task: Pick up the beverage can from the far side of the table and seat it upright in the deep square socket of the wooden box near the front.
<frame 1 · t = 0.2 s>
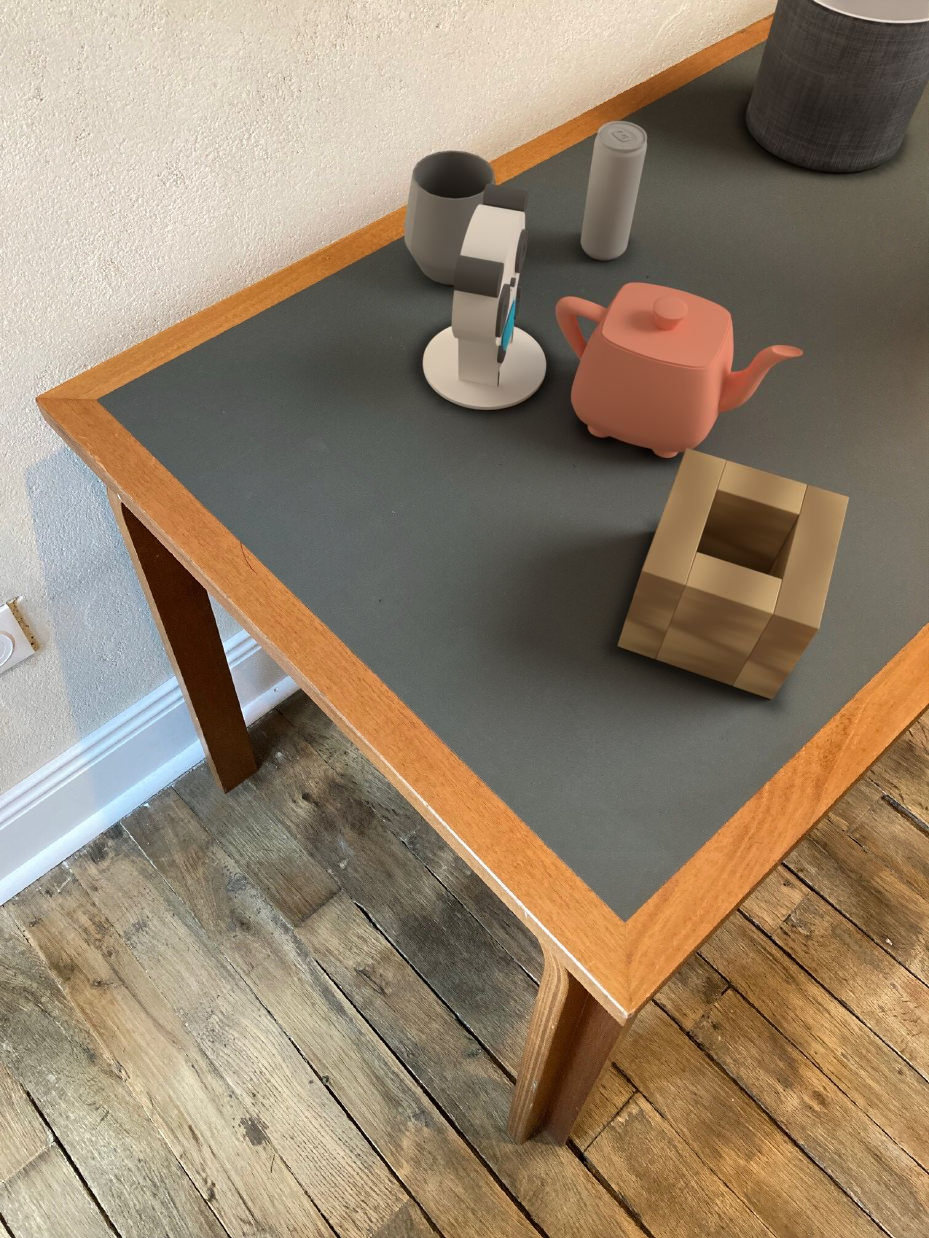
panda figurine: (483, 369, 87), on the table
wooden box: (712, 610, 73), on the table
cup: (452, 269, 94), on the table
teapot: (650, 418, 84), on the table
beverage can: (602, 249, 96), on the table
planter: (821, 130, 109), on the table
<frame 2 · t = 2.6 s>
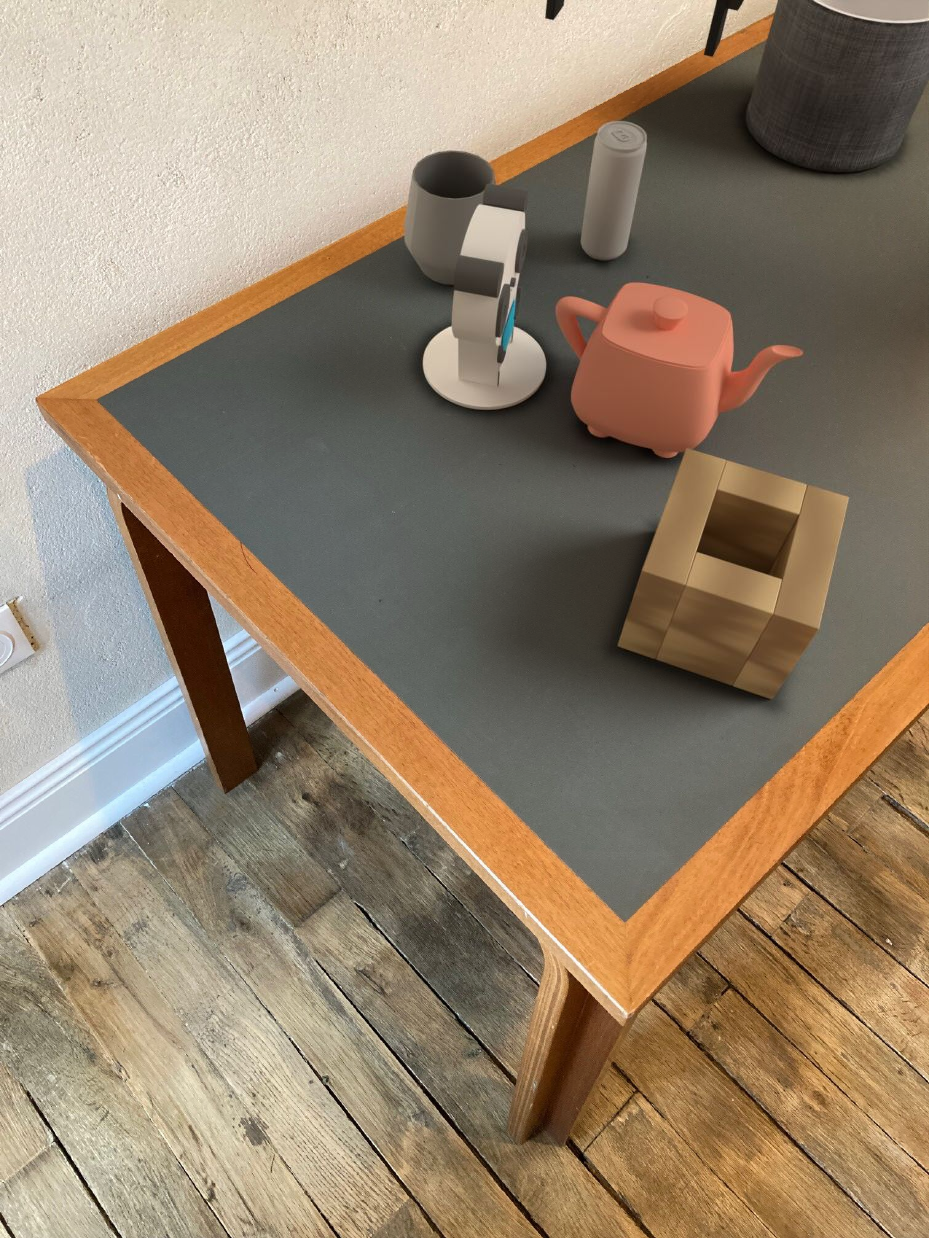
hand: (631, 30, 78), 21 cm above the table, tool pointing down, fingers open, 13 cm apart
nothing on the table moved.
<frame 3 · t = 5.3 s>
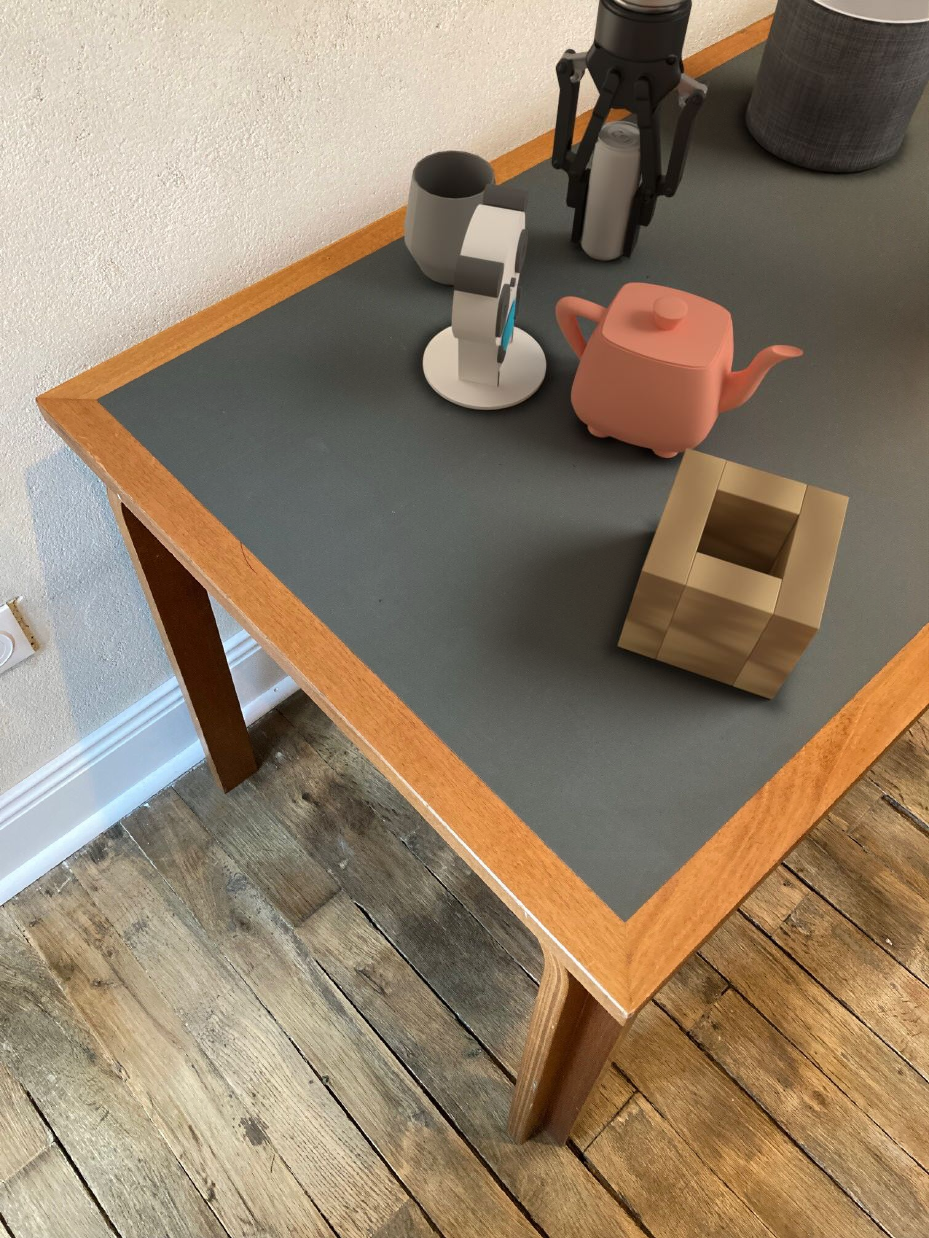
hand: (603, 242, 96), 1 cm above the table, tool pointing down, fingers closed on beverage can, 5 cm apart
beverage can: (602, 249, 96), on the table, touching gripper
everything else where it was.
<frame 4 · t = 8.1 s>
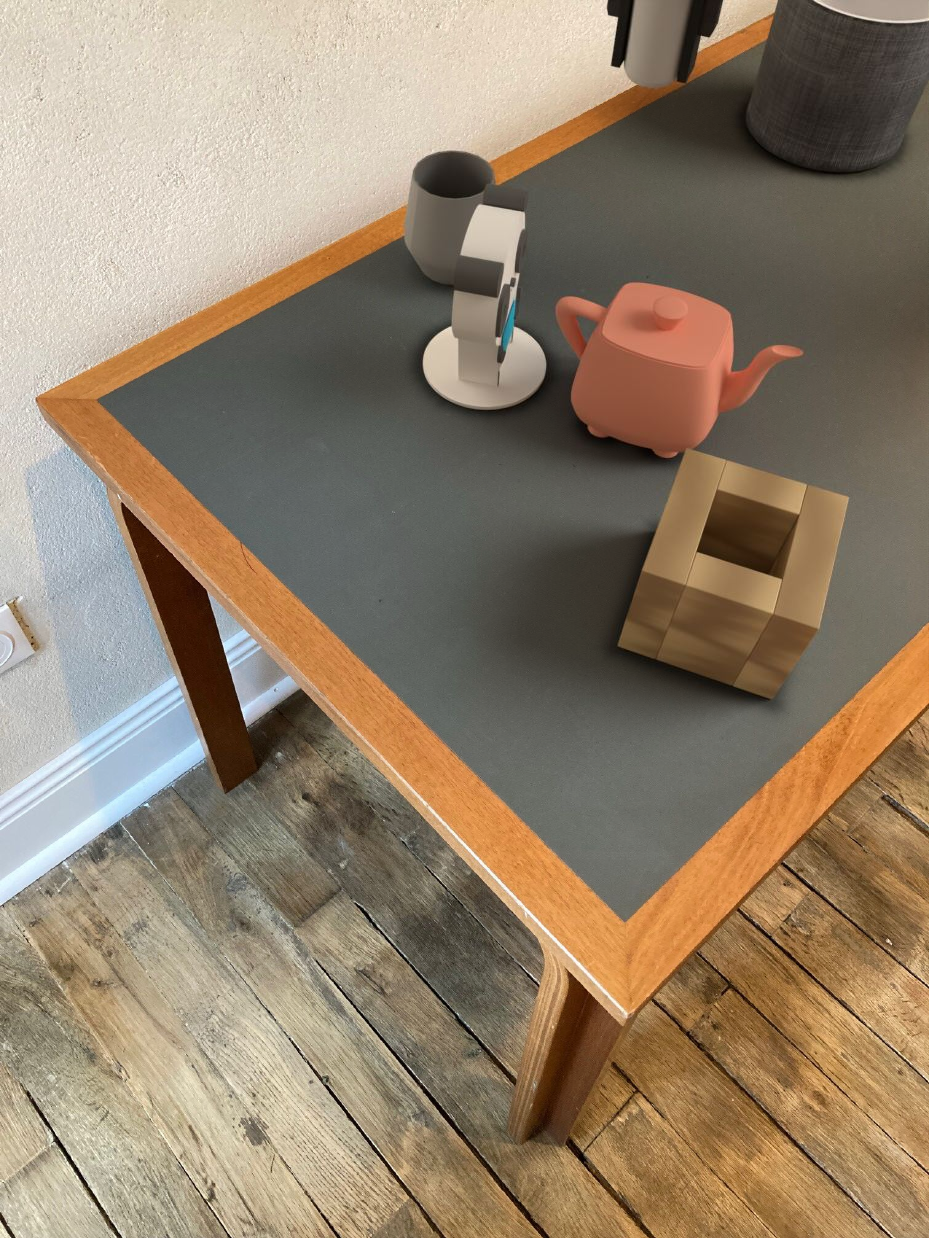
hand: (652, 66, 76), 21 cm above the table, tool pointing down, fingers closed on beverage can, 5 cm apart
beverage can: (650, 77, 77), point 20 cm above the table, touching gripper
everything else where it was.
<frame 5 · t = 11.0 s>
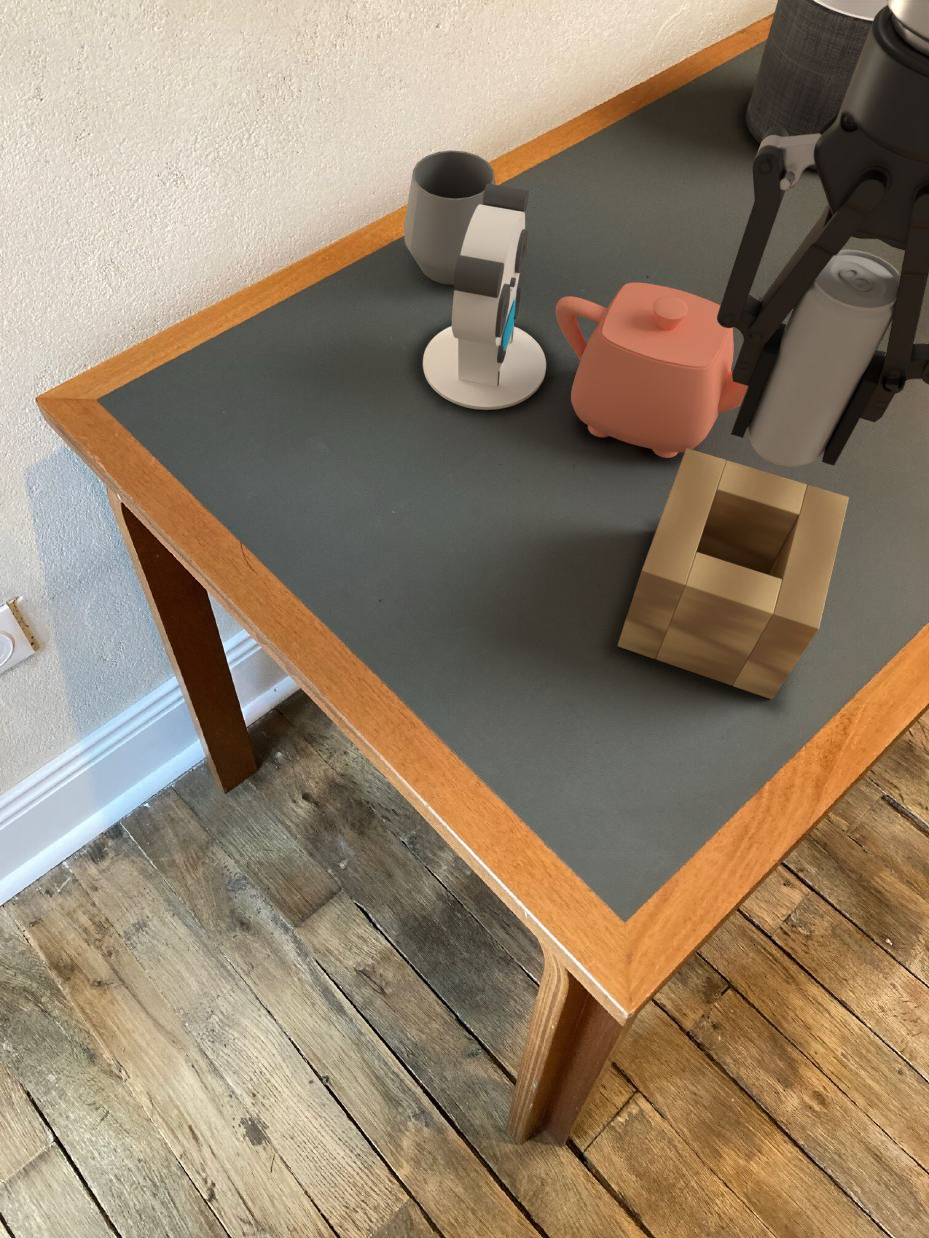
hand: (786, 434, 57), 19 cm above the table, tool pointing down, fingers closed on beverage can, 5 cm apart
beverage can: (781, 444, 58), point 18 cm above the table, touching gripper
everything else where it was.
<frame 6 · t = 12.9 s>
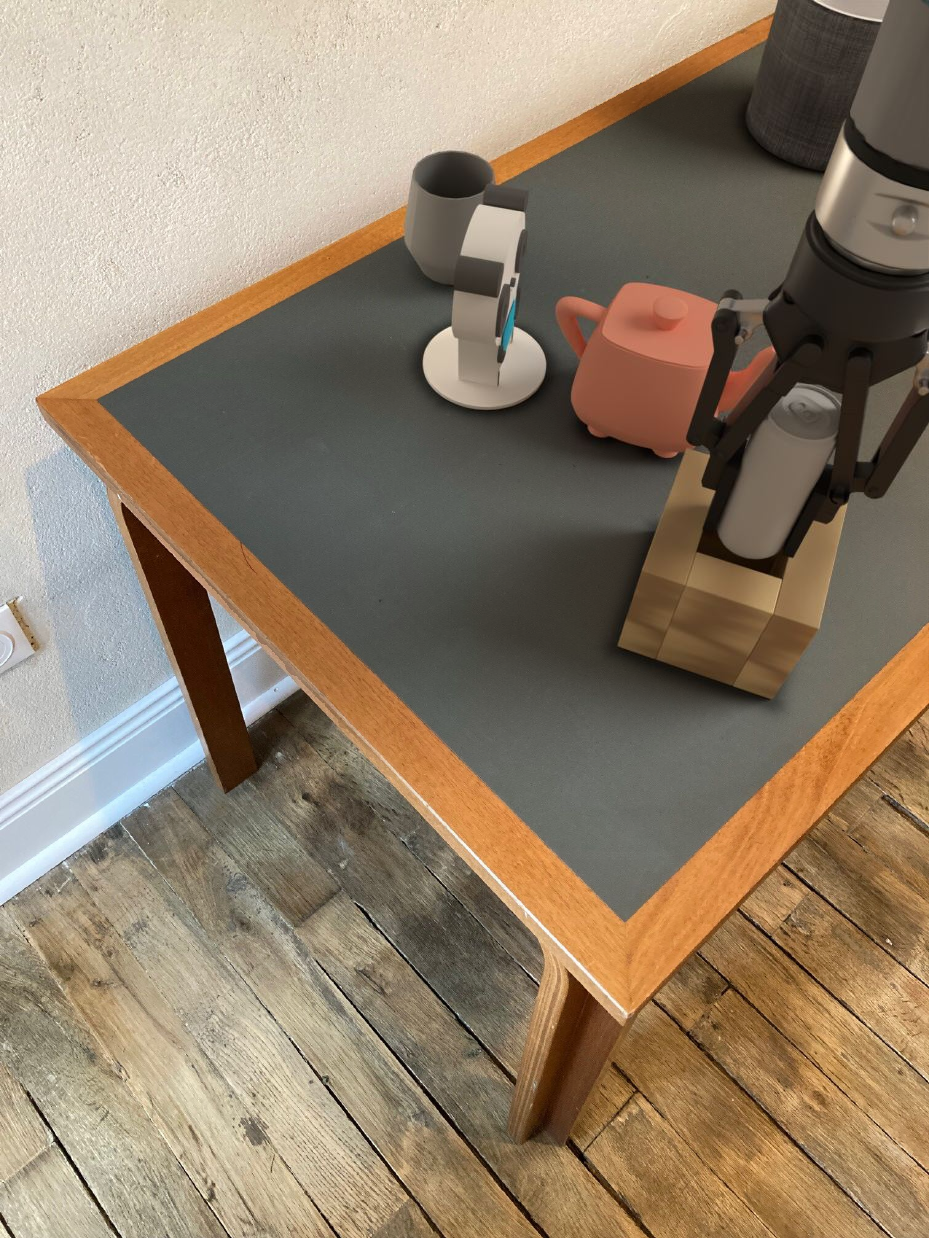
hand: (751, 528, 64), 10 cm above the table, tool pointing down, fingers closed on beverage can, 5 cm apart
beverage can: (747, 537, 65), point 9 cm above the table, touching gripper
everything else where it was.
when the fingers open (11 cm above the table, at t = 16.7 s): beverage can drops 11 cm, resting in wooden box.
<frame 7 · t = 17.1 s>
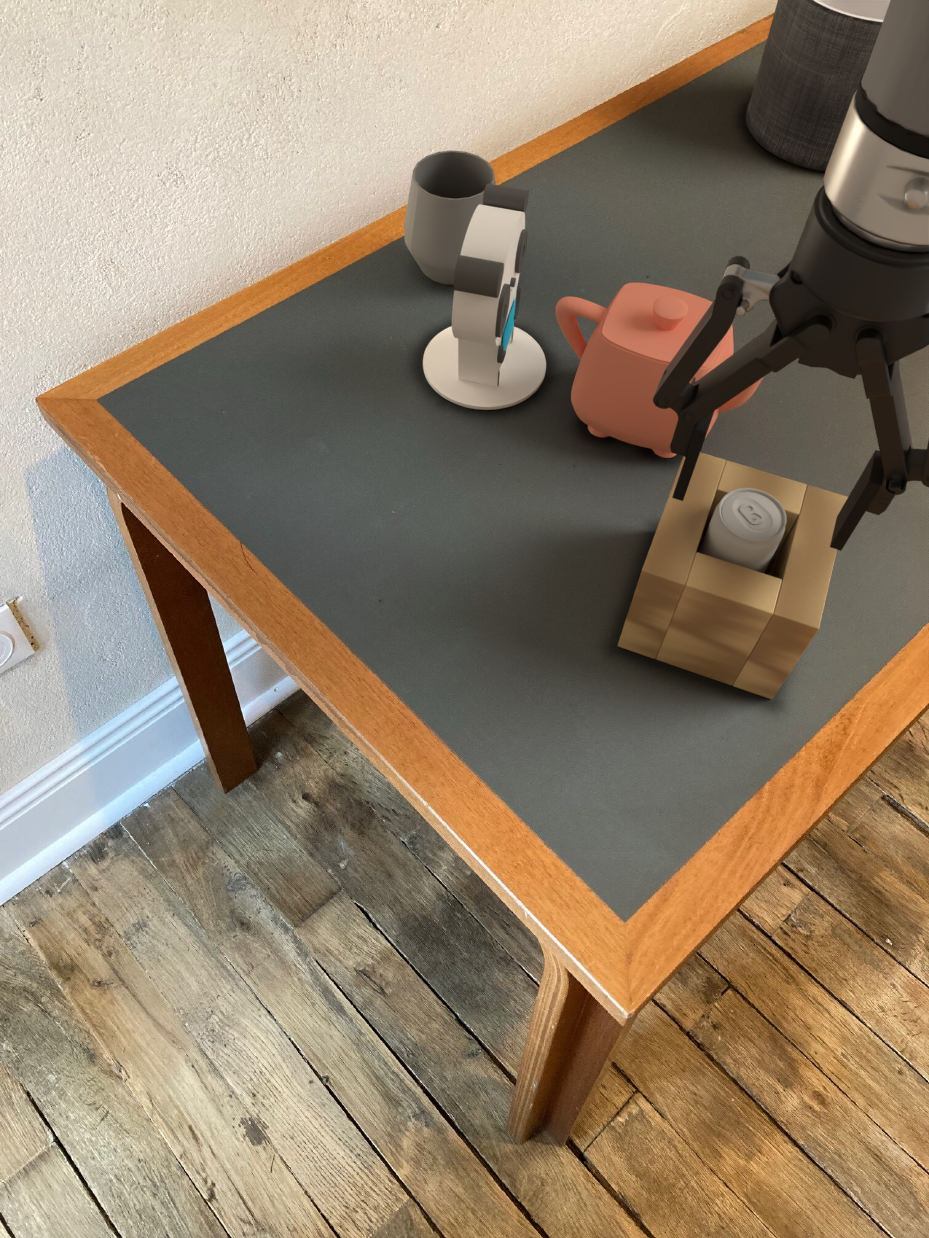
hand: (759, 509, 62), 13 cm above the table, tool pointing down, fingers open, 10 cm apart
beverage can: (708, 611, 73), resting in wooden box
everything else where it was.
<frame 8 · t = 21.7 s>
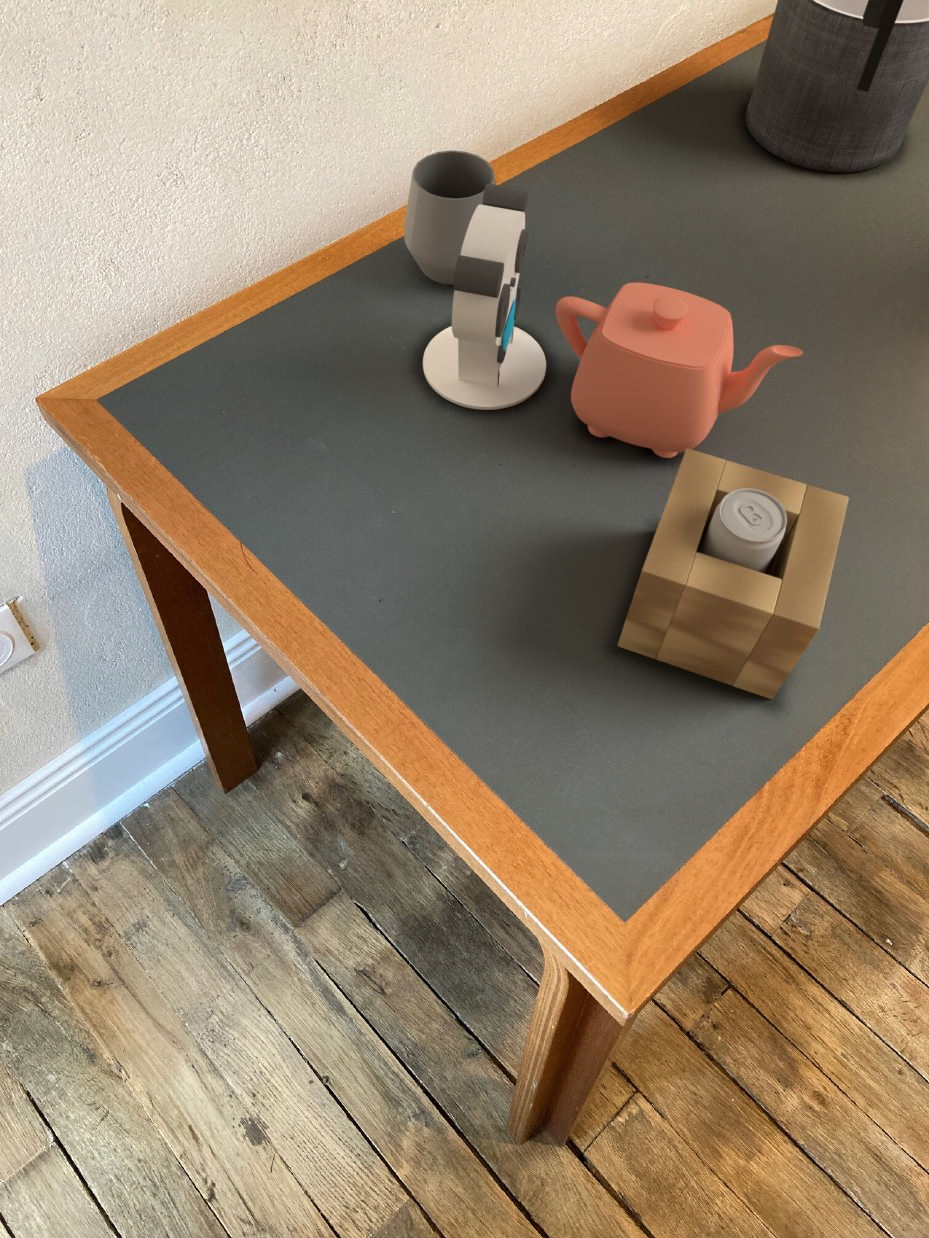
nothing on the table moved.
at the end: beverage can 0.2 cm off-centre in the wooden box, point 0.0 cm above the wooden box's base; beverage can tilted 0°; the gripper is holding nothing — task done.
